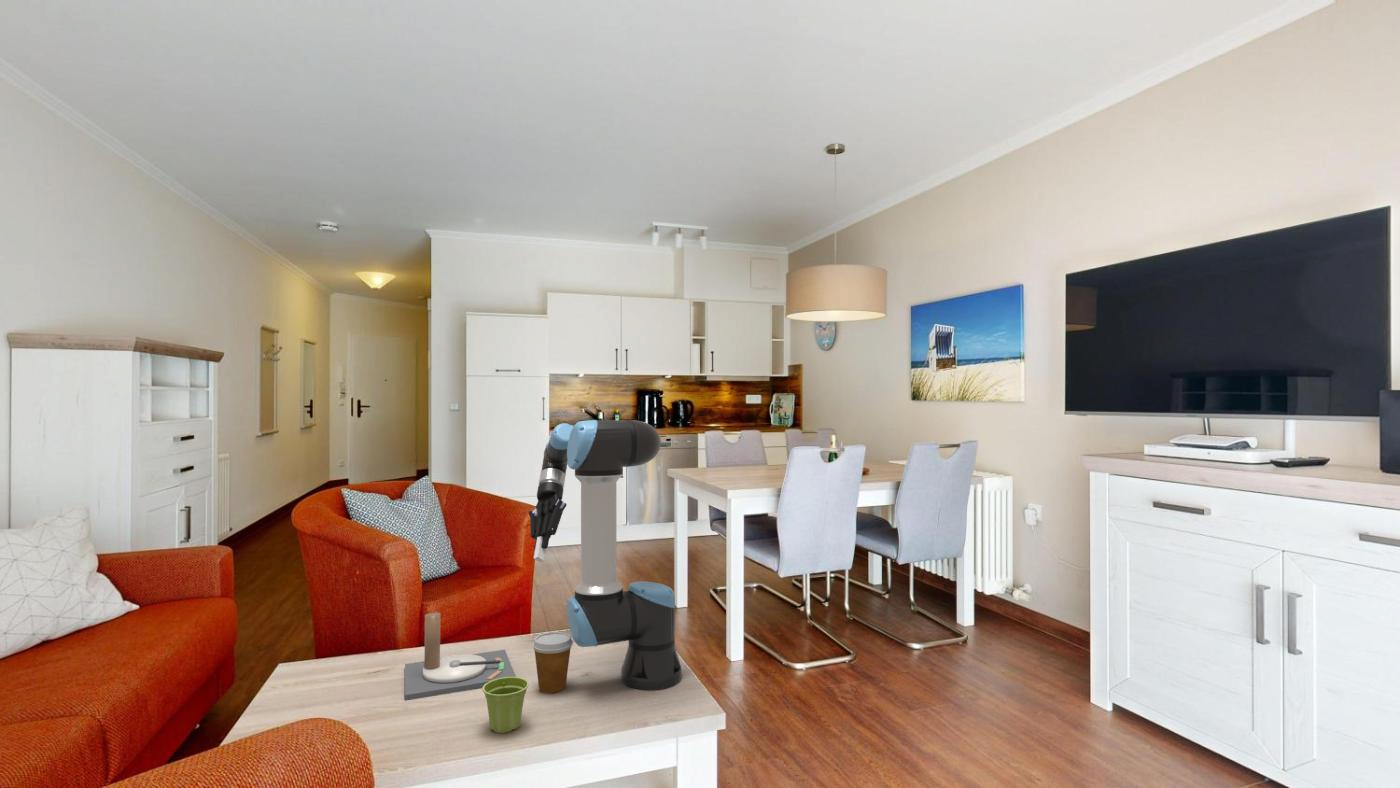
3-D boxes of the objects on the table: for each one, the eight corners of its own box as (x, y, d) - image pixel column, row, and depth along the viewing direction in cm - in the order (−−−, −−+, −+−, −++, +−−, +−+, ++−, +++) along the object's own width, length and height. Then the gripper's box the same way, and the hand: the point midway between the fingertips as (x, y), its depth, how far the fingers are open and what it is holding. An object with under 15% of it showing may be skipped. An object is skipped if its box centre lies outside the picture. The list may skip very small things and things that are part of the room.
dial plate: (516, 682, 161) (516, 675, 161) (405, 700, 151) (405, 693, 151) (504, 653, 180) (504, 648, 180) (405, 668, 169) (405, 662, 169)
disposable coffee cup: (577, 680, 162) (577, 632, 163) (565, 697, 153) (565, 646, 153) (539, 678, 163) (540, 630, 163) (526, 695, 154) (526, 644, 154)
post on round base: (502, 667, 167) (502, 611, 167) (453, 688, 154) (454, 628, 154) (459, 654, 175) (459, 601, 175) (409, 674, 162) (410, 616, 162)
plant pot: (488, 716, 143) (488, 676, 143) (531, 715, 144) (532, 675, 144) (477, 738, 134) (477, 695, 134) (523, 736, 135) (524, 694, 135)
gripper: (575, 486, 196) (565, 559, 181) (543, 498, 202) (531, 570, 186) (559, 474, 192) (547, 548, 176) (526, 487, 197) (512, 560, 182)
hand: (539, 559), depth 181 cm, fingers closed
